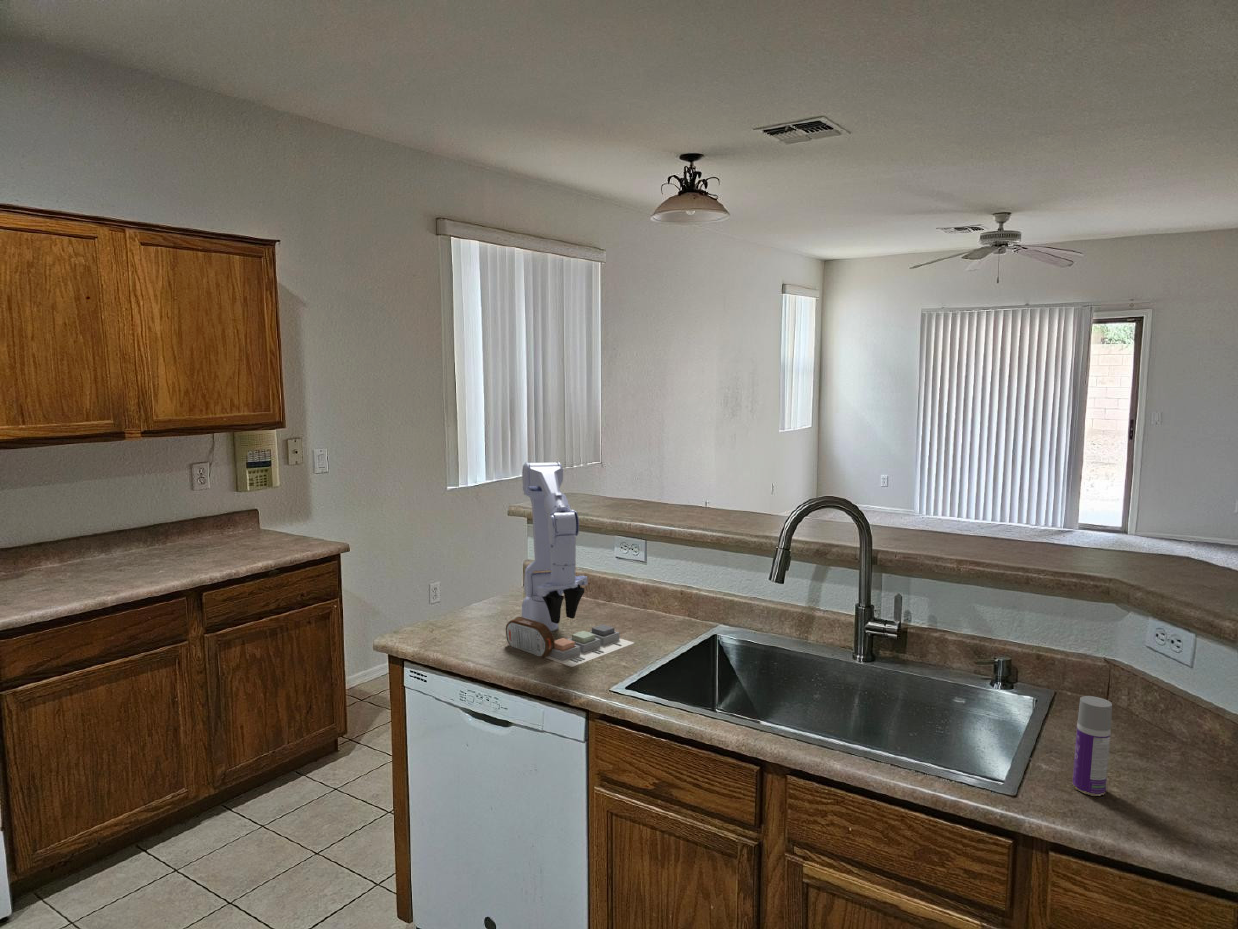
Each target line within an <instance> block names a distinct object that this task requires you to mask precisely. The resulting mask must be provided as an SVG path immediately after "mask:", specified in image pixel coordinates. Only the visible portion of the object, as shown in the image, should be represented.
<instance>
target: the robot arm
mask: <svg viewBox="0 0 1238 929" xmlns="http://www.w3.org/2000/svg"><path fill="white" fill-rule="evenodd" d="M521 476H522V477H521V478H522V490H523V495H525V496H526V497H529V498H530V503H531V512H532V513H531V514H532V531H533V532H532V534H533V536H532V537H533V551H534V552H533V553H534V559H533V561H531V563H529V564H528V565H527V566H526V567H525V570H524V578H523V583H524V584H523V586H524V587H523V588H524V594H525V597H524V598H523V601H522V604H521V617H523V618H526V619H530V620H533V621H537V622H541V623H543V624H545V625H546V626H547V627H548V628H549V629H550V631H551V632H553V631H555V630H556V631H557V630H558V628H559V624H560V621H561V610H562V605H563V600H564V601H565V603H564V604H565V615H566V618H569V619H572V620H573V619H575V618H576V614H577V610H578V606H579V604H580V601H581V599H582V597H583V596H584V595H585V594H584V593H585V588H584V587H581V586H587V585H588V583H589V582H588V578H589V577H588V576H586V575H576V571H577V570H576V569H577V568H576V563H577V562H576V558H577V555H576V554H577V553H576V552H577V550H576V549H577V548H576V547H577V545H576V544H577V542H576V541H577V540H576V539H577V536H578V535H579V533H580V532H579V531H580V520H579V515H578V511H576V510H574V509H572V508H571V505H570V503H569V500H568V497H567V495H566V494H564V493H563V492H561V489H560V488H561V486H562V483H563V481H564V468H563V465H562V463H561V462H560V461H556V462H527V461H526V462H524V464H523V465H522V472H521ZM542 571H545V572H542Z"/></svg>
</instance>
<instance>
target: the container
mask: <svg viewBox="0 0 1238 929" xmlns="http://www.w3.org/2000/svg"><path fill="white" fill-rule="evenodd" d="M1112 714H1113V704H1112V702H1111V701H1109V700H1108V699H1105V698H1102V697H1098V696H1092V695H1085V696H1081V697H1080V698H1079V708H1078V715H1077V722H1076V723H1077V724H1076V735H1075V746H1074V758H1073V770H1072V771H1073V772H1072V782H1073V785H1075V787H1077V788H1078V789H1079V790H1081V791H1086V792H1089V793H1092V794H1093V793H1094V794H1101V793H1104V792H1105V791H1106V790H1107V778H1108V769H1109V757H1110V754H1109V753H1110V746H1111V730H1112V717H1113V716H1112ZM1105 793H1106V792H1105Z"/></svg>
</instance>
